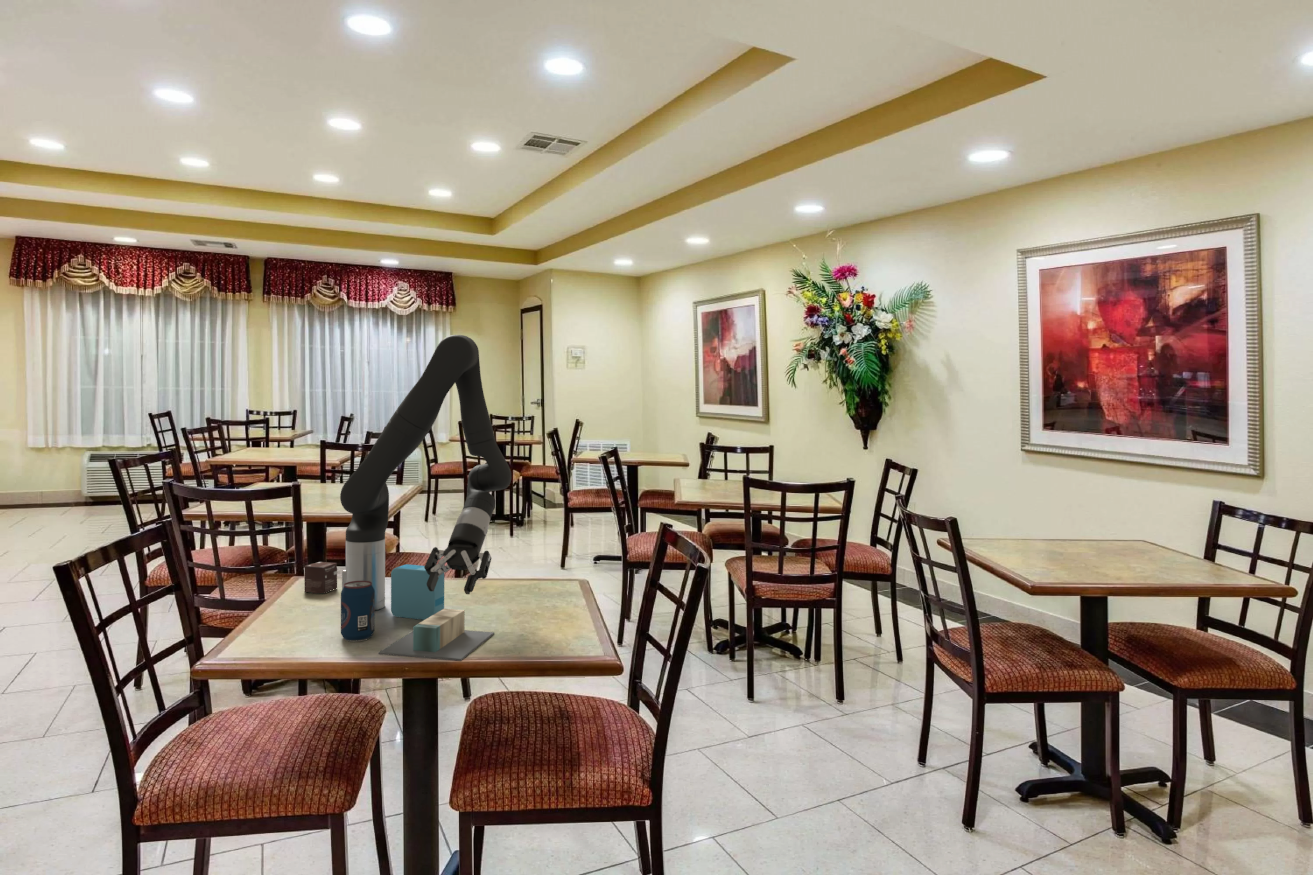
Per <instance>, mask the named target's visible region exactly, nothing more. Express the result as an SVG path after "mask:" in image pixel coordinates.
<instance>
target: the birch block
mask: <svg viewBox="0 0 1313 875" xmlns="http://www.w3.org/2000/svg"><path fill="white" fill-rule="evenodd" d="M465 615H466V614H465V610H464V609H452V608H444V609H442V610H441V611H439V612H437V613H436V614H434V615H432V616H430V617H429V618H427V619H425V620H421V621H420V622H419V623H417V624H415V625H413V626H412V628H413V629H412V631H413V650H417V651H428V652H436V651H438V650H439V649H441V648H442V647H444V646H445V645H447V644H448V643H449V642H451V641H452V640H454V639H455V638H457V637H458V636H460V635H461V634H462V633H464V630H465V622H466V620H465V619H466V618H465Z"/></svg>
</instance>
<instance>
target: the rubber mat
mask: <svg viewBox="0 0 1313 875" xmlns="http://www.w3.org/2000/svg"><path fill="white" fill-rule="evenodd" d="M494 635H495V632H494V631H480V630H468V629H467V630H466V629H464V633H462V634H461V635H460V636H458V637H457V638H455V639H454V640H452V641H451V642H449V643H448V644H447V645H445V646H444V647H442V648H441V649H439V650H438V651H436V652H428V651H417V650H413V630H412V631H410V632H408V633H407V634H406V635H404V636H403V637H401V638H399V639H398V640H396V641H395V642H393V643H391V644H390V645H387V647H385V648H383V649H381V650H380V651H379V652H378V655H383V654H389V655H388V656H396V655H398V657H408V658H409V657H410V658H422V659H436V660H446V661H461V662H462V661H463V660H464V659H466V657H467V656H469V655H470V654H472V652H474V651H475V650H477V649H478V648H479V647H481V645H482V644H484V643H485V642H486V641H488V640H489V639H490V638H491V637H492V636H494Z"/></svg>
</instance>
